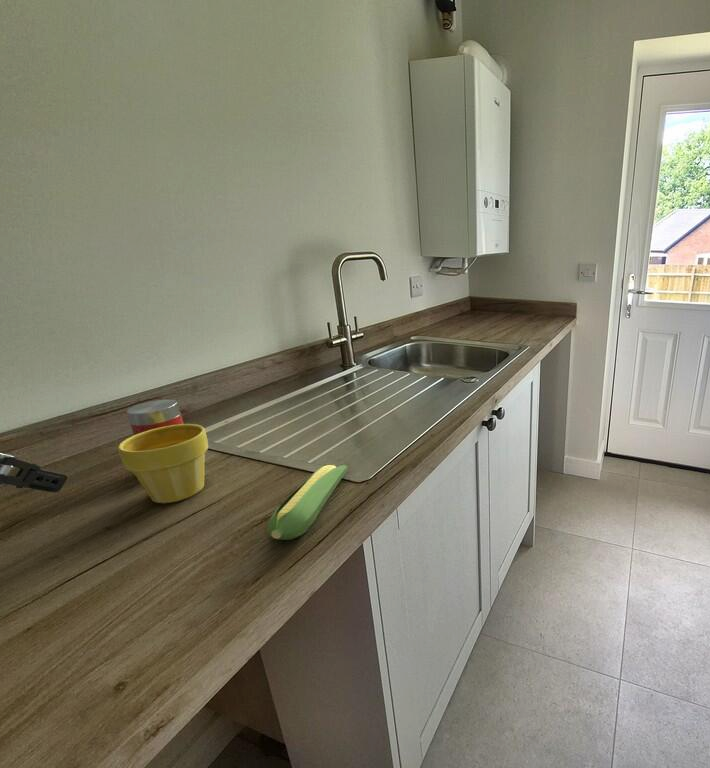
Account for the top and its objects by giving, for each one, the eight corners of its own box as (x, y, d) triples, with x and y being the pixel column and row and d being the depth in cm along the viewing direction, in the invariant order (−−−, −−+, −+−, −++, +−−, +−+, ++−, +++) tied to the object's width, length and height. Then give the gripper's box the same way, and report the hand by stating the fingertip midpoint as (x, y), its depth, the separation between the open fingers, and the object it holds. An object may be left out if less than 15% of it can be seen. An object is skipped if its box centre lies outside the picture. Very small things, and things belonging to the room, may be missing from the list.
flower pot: (211, 468, 73) (197, 417, 69) (225, 491, 66) (210, 436, 63) (134, 491, 66) (115, 436, 63) (140, 520, 59) (119, 460, 56)
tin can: (150, 479, 69) (129, 417, 65) (142, 466, 73) (122, 406, 70) (198, 464, 74) (181, 405, 70) (189, 452, 78) (172, 396, 74)
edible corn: (259, 551, 53) (252, 521, 51) (329, 470, 72) (325, 447, 70) (299, 551, 52) (293, 522, 51) (358, 470, 71) (355, 447, 70)
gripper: (-79, 403, 36) (118, 459, 51) (-178, 393, 38) (38, 449, 54) (-150, 489, 33) (83, 521, 48) (-254, 472, 35) (-1, 508, 50)
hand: (58, 483), depth 51 cm, fingers closed
